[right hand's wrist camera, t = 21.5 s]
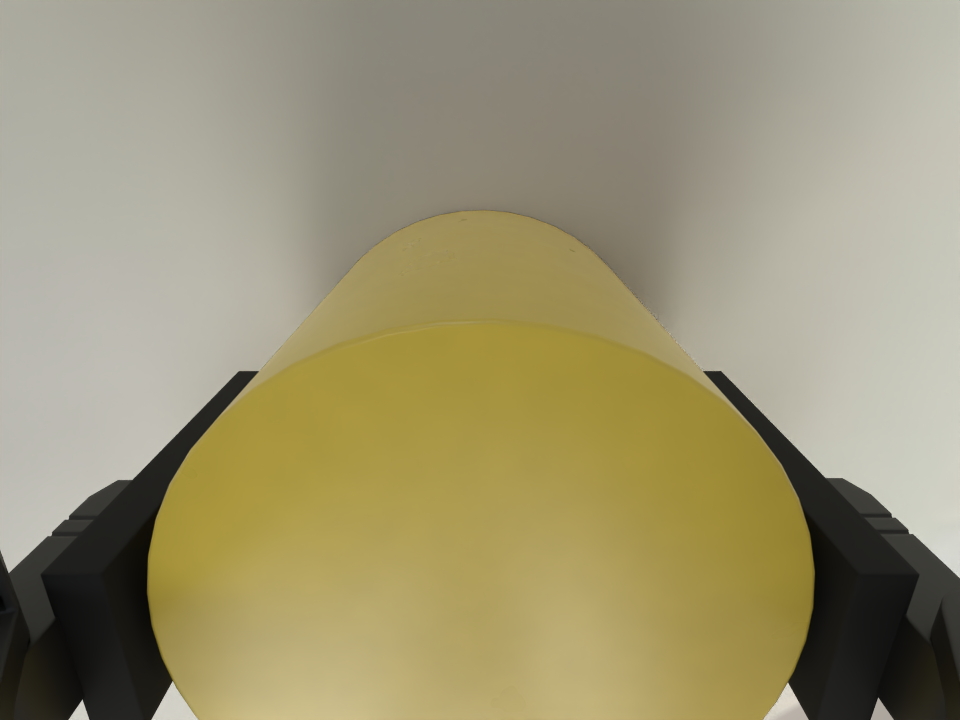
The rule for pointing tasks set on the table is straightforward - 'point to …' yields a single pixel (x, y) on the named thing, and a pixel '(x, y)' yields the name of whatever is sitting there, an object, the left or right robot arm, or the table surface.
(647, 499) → the tin
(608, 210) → the table surface
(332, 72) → the table surface
